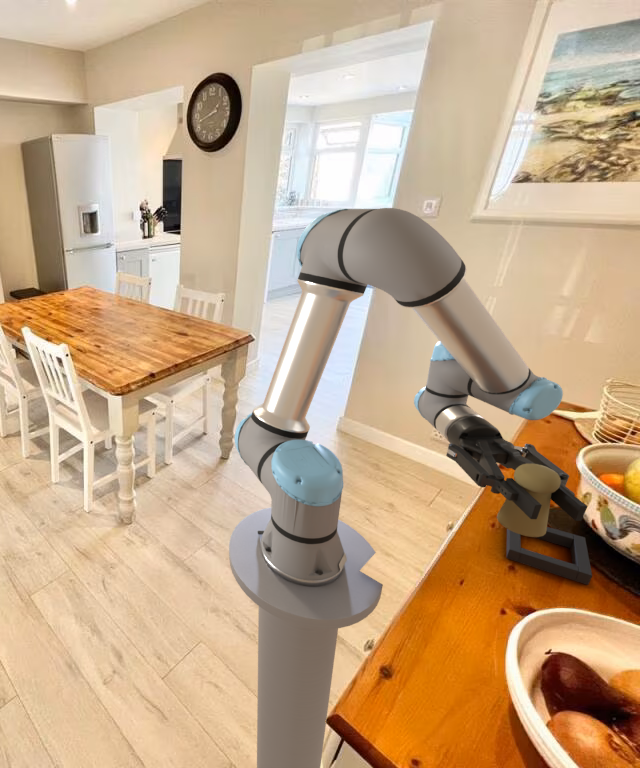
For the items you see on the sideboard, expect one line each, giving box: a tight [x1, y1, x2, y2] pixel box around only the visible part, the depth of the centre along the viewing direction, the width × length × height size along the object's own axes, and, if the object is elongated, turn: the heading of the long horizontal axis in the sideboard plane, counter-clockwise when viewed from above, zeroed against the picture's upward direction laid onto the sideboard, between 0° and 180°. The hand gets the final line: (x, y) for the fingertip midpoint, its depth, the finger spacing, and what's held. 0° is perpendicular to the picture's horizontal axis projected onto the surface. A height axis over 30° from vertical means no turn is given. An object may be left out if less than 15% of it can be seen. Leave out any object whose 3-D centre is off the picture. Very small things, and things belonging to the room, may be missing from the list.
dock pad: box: [506, 526, 593, 586], centre depth 72 cm, size 10×10×2 cm
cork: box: [496, 464, 561, 538], centre depth 65 cm, size 6×6×11 cm
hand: (558, 512), depth 59 cm, fingers closed on cork, 5 cm apart
